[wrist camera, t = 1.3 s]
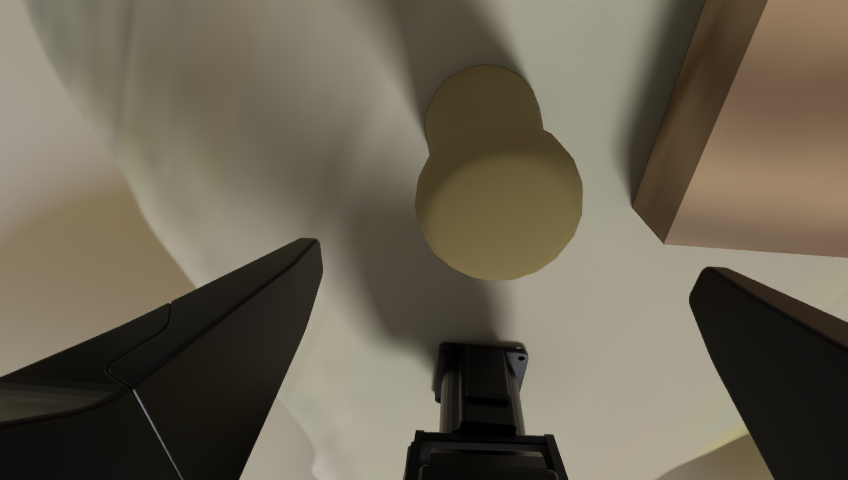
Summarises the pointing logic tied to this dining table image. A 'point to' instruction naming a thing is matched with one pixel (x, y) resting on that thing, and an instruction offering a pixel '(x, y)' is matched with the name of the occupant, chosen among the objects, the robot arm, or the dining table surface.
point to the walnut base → (756, 132)
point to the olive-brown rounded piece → (494, 178)
